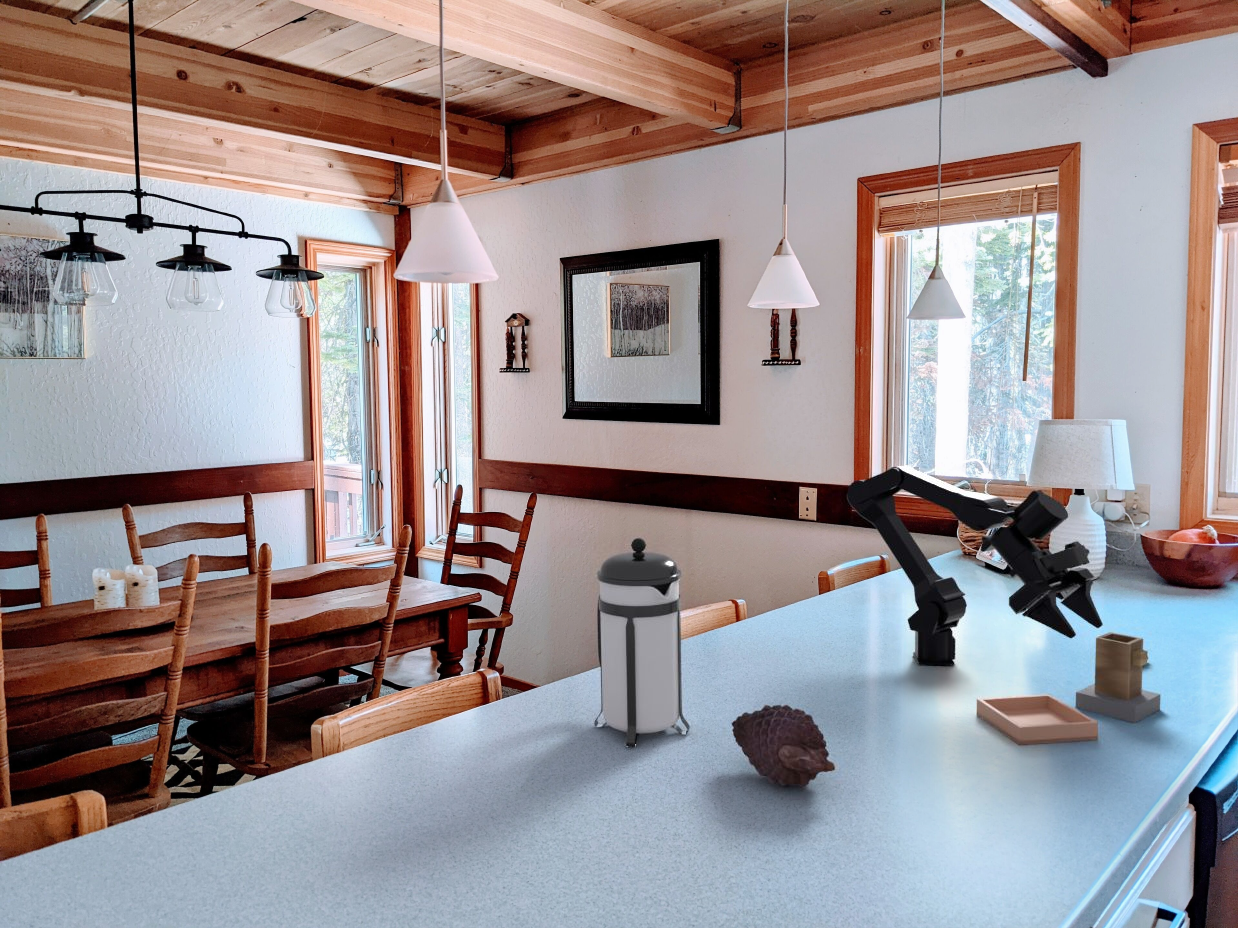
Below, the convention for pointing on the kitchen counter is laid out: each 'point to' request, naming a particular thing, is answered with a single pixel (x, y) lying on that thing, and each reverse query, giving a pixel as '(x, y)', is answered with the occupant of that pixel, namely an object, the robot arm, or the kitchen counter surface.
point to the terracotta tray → (1037, 719)
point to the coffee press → (640, 642)
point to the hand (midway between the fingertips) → (1087, 631)
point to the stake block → (1118, 704)
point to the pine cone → (782, 744)
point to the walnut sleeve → (1119, 665)
